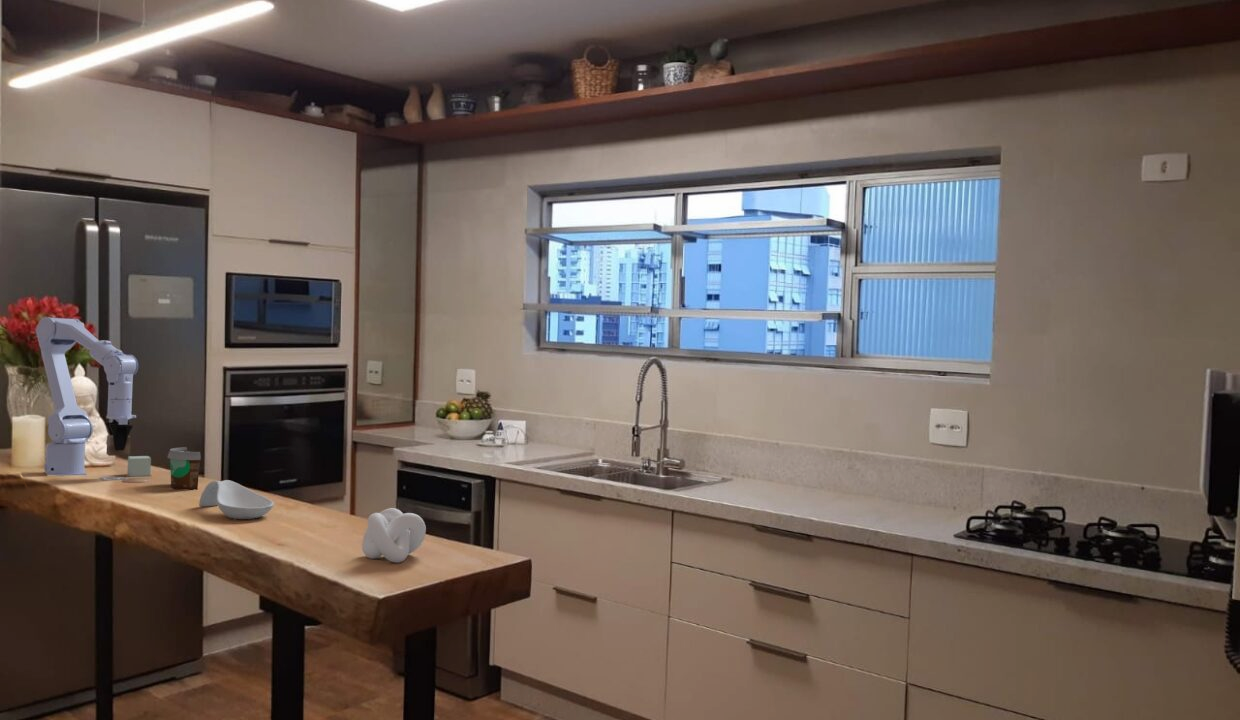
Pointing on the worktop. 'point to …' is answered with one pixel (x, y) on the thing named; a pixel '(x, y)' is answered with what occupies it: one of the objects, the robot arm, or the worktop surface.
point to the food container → (184, 468)
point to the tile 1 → (112, 478)
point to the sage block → (139, 466)
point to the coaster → (137, 480)
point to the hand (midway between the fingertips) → (118, 449)
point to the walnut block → (111, 448)
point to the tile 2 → (136, 476)
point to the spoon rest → (235, 500)
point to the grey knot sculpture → (393, 535)
